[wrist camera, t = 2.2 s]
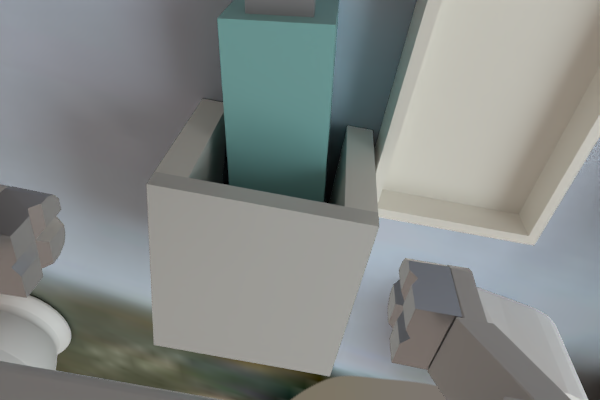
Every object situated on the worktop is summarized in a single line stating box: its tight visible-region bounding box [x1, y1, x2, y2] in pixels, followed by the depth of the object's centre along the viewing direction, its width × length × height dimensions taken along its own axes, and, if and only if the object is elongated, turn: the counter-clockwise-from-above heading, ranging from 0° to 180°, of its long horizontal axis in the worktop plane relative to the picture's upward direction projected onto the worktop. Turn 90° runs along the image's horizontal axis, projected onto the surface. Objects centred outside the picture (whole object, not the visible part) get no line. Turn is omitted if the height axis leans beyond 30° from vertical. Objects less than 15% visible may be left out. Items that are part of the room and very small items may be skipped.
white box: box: [146, 99, 379, 376], centre depth 27 cm, size 11×10×9 cm
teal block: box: [217, 0, 339, 203], centre depth 25 cm, size 13×5×5 cm, turn 178°
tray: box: [374, 0, 600, 246], centre depth 24 cm, size 16×10×3 cm, turn 171°
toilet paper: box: [477, 287, 588, 400], centre depth 34 cm, size 8×11×7 cm
